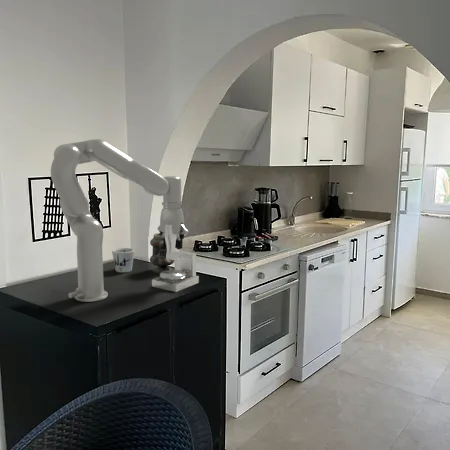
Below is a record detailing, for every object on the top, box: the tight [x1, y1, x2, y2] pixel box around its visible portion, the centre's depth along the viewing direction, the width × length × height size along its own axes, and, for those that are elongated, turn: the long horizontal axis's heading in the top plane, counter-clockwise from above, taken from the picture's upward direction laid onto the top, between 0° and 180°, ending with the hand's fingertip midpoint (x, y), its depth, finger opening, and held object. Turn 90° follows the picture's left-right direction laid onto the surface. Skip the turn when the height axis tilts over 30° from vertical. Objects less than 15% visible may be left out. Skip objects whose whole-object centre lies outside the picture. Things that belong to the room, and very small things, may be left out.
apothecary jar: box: [149, 232, 175, 274], centre depth 220 cm, size 12×12×18 cm
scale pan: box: [159, 269, 186, 280], centre depth 198 cm, size 12×11×1 cm
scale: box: [151, 250, 200, 293], centre depth 199 cm, size 16×13×13 cm
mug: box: [111, 247, 135, 273], centre depth 223 cm, size 10×15×10 cm
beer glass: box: [164, 224, 180, 260], centre depth 195 cm, size 7×7×15 cm
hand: (172, 247), depth 195 cm, fingers closed on beer glass, 6 cm apart
